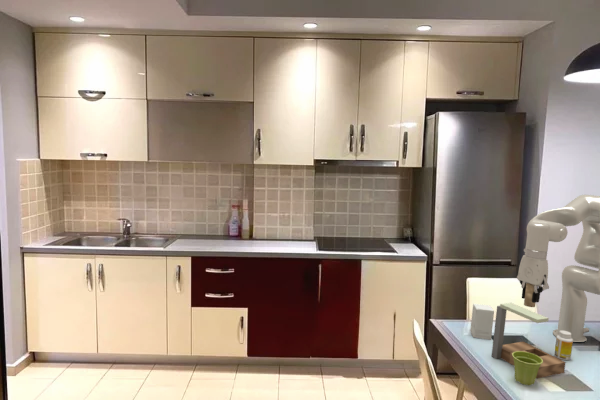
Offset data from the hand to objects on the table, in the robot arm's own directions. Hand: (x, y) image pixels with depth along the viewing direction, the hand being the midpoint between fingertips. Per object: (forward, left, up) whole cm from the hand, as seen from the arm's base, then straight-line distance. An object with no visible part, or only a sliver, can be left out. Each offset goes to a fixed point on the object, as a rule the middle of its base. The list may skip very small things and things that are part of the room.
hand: (530, 299), depth 177 cm
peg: (0, 0, -2) cm, 2 cm away
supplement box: (+5, -18, -22) cm, 28 cm away
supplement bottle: (-11, +8, -22) cm, 26 cm away
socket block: (+7, +8, -21) cm, 24 cm away
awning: (+13, +8, -21) cm, 26 cm away
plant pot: (+20, +17, -22) cm, 34 cm away
